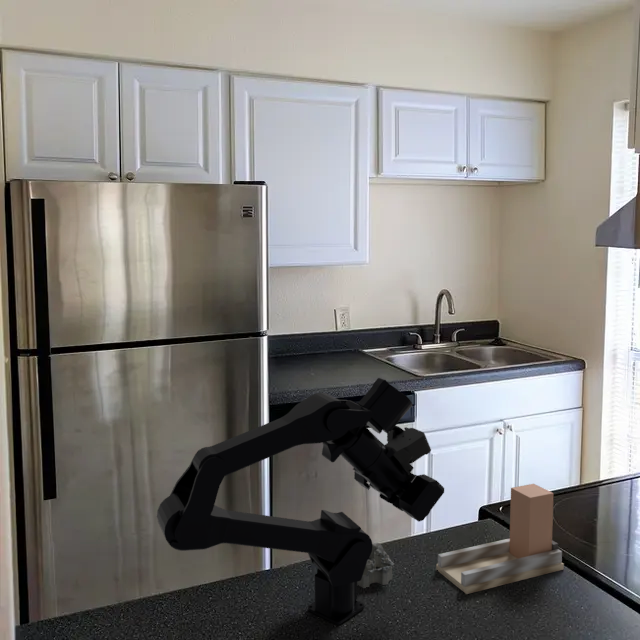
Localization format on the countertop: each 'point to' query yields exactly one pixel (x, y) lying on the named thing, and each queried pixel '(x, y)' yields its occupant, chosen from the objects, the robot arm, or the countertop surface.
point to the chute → (494, 565)
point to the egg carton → (377, 575)
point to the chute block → (530, 520)
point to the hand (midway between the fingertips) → (427, 513)
